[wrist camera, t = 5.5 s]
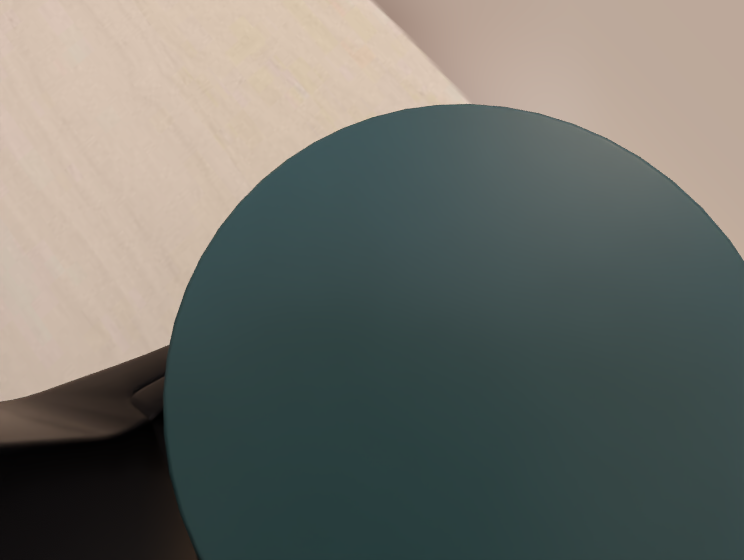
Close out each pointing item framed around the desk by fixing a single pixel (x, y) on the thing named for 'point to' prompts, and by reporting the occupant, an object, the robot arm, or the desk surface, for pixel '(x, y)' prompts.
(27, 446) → the robot arm
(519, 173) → the teal green cylinder
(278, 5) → the desk surface
